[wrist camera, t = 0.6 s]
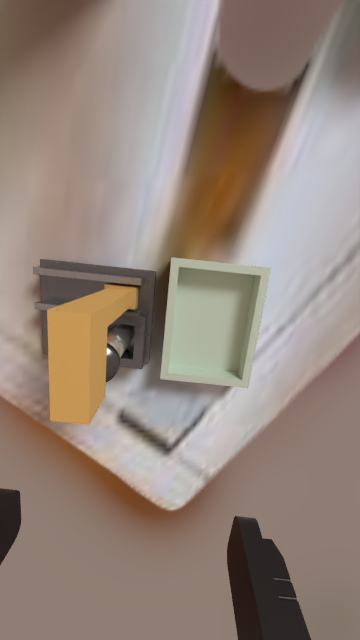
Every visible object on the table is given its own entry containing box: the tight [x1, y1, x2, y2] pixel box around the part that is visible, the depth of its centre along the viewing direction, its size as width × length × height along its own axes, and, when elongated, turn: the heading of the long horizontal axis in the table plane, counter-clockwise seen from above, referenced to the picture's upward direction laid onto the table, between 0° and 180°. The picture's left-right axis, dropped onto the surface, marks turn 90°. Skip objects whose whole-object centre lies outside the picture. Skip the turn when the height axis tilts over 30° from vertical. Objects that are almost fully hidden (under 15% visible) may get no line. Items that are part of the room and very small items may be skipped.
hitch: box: [33, 259, 156, 369], centre depth 32 cm, size 13×15×4 cm
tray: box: [160, 257, 271, 388], centre depth 32 cm, size 16×12×3 cm
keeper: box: [47, 283, 139, 425], centre depth 25 cm, size 9×4×16 cm, turn 174°
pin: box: [106, 324, 133, 382], centre depth 29 cm, size 4×4×10 cm
